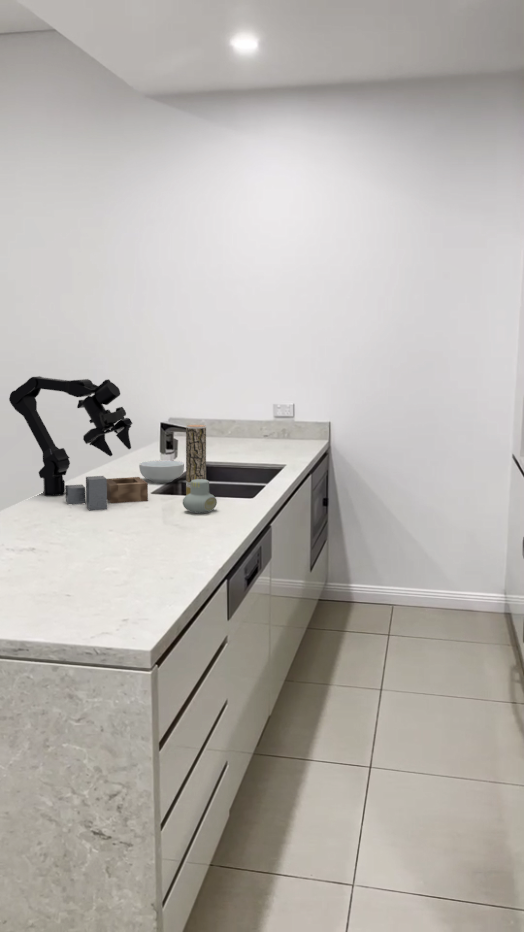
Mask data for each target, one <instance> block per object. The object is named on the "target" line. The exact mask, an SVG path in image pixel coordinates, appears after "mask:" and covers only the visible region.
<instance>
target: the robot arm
mask: <svg viewBox="0 0 524 932" xmlns="http://www.w3.org/2000/svg"><path fill="white" fill-rule="evenodd" d="M41 390H46V391H47V390H48V391H55V392H63V393H66V394H67V395H70V396H73V397H75V398H82V397H85V398H84V399H78V403H77V406H76V408H77V409H84V410H85V412H86V413H87V415H88V417H89V418H90V419H89V420H88V421H89V423H90V424H93V425H94V427H93V428H91V429H89V430H88V431H87V432H86V433H84V435H83V439H82V440H83V442H84V443H85V444H86V445H88V444H89V446H93V447H95V448H97V449H98V450H99V451H102V452H103V453H104V454H106V455H107V456H109V457H112V456H113V452H112V450H111V448H110V446H109V445H108V443H107V441H106V434H110V433H113V432H114V433H115V436H116V437H117V439H119V441H120V442H121V443H122V444H123V446H125V448H127V450H131V449H132V444H131V440H130V433H129V431H130V428H131V427H132V425H133V423H134V422H132V419H130V417H129V418H128V417H126V416H127V412H126V410H125V409H124V406H119V407H117V408H115V411H113V412H112V411H111V410H110V409H106V408H105V406H108V405H109V404H111V403H112V402H113V401H114V400H116V399H117V398H118V397H120V396H121V391H120V388H119V386H117V385H116V384H115V383H114V382H112V381H111V380H110V379H108V378H107V379H105V380H104V381H103V382H102V383H100V384H99V385H97V384H95V383H93V381H92V380H91V379H89V378H85V379H84V378H83V379H73V380H67V379H66V380H65V379H60V378H59V379H57V378H49V377H43V376H40V375H39V376H31V377H29V378H28V380H26V381H25V382H24V383H23V384H21V385H20V386H18V387H17V388H16V389H15V390H12V391H11V392H10V394H9V398H8V400H9V403H10V406H11V405H12V408H13V409H14V410H15V411H16V412H18V413H19V414H20V415H21V416H22V417H23V418H24V420H25V421H26V424H27V426H28V427H29V429H30V431H31V433H32V435H33V437H34V438H35V439H34V440H36V443H37V444H38V446H39V449H40V450H41V452H42V462H43V467H42V468H40V470H39V471H38V476H39V478H40V479H43V491H42V493H43V495H44V494H45V495H51V496H60V495H59V494H64V495H65V485H66V484H65V483H66V482H65V480H64V477H63V476H66V475H67V472H68V470H69V468H70V464H71V462H70V459H71V458H70V456H69V455H68V454H67V452H66V449H65V448H64V447H61V448H59V447H58V446H56V444H55V442H54V441H53V438H52V436H51V434H50V433H49V431H48V429H47V427H46V425H45V423H44V421H43V420H42V418H41V416H40V414H39V412H38V411H37V409H38V408H37V405H38V402H37V400H36V397H38V396H39V395H40V392H41ZM104 405H105V406H104ZM45 495H44V496H45Z"/></svg>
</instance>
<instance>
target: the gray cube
mask: <svg viewBox="0 0 524 932" xmlns="http://www.w3.org/2000/svg"><path fill="white" fill-rule="evenodd" d="M64 494H65V503H66V504H67V503H68V504H72V505H82V503H85V504H86V486H84V485H83V484H68V485H66V484H65V492H64ZM68 504H67V505H68Z"/></svg>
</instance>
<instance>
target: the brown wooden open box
mask: <svg viewBox="0 0 524 932" xmlns="http://www.w3.org/2000/svg"><path fill="white" fill-rule="evenodd" d="M106 479H107V502H109V503H110V504H119V503H120V504H121V503H135V502H148V501H149V492H148V490H149V484H148V482H146V481H145V480H144V479H143V478H141V477H140V476H132V477H130V476H129V477H116V478H115V477H114V478H106Z"/></svg>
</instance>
